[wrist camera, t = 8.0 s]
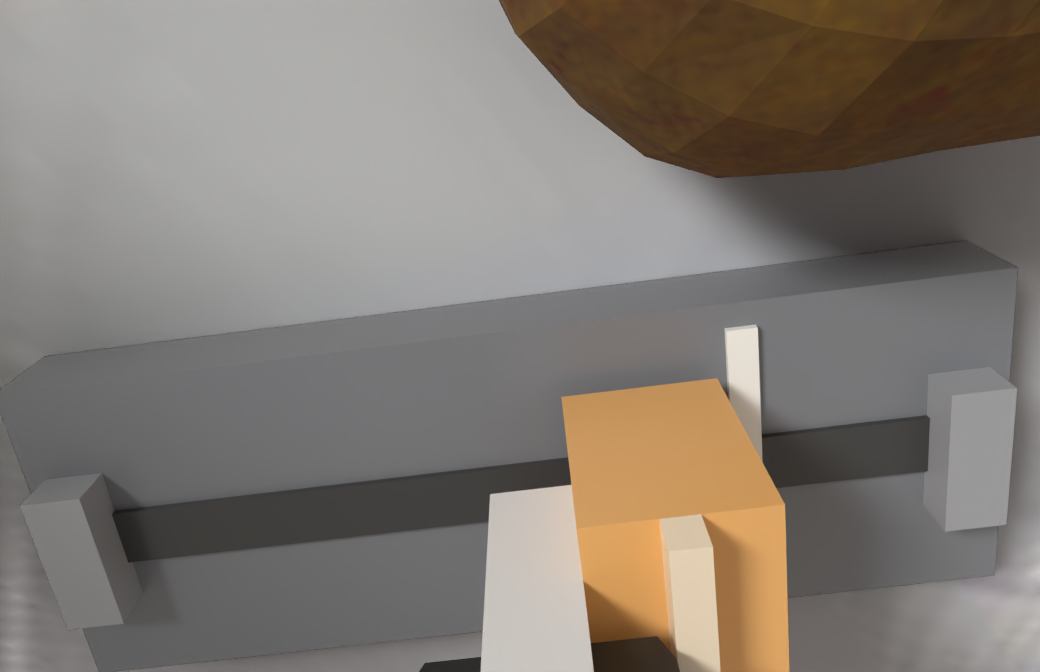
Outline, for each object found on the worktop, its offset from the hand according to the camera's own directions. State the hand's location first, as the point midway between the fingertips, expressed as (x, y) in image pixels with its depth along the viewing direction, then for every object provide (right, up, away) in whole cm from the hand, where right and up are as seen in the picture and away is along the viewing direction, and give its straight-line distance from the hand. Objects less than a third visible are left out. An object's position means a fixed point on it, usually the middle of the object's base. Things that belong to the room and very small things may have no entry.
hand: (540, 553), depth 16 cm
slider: (+2, +1, +1) cm, 3 cm away
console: (0, +2, +4) cm, 4 cm away
